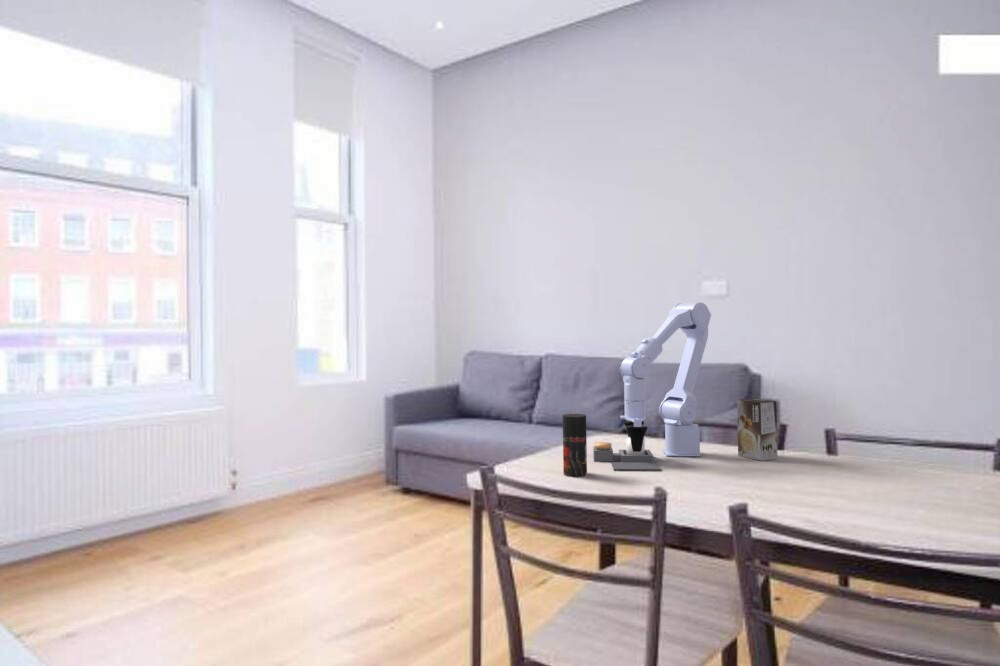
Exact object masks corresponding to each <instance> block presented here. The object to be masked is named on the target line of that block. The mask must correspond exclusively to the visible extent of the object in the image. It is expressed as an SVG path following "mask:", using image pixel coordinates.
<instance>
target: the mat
mask: <svg viewBox="0 0 1000 666" xmlns="http://www.w3.org/2000/svg"><path fill="white" fill-rule="evenodd" d="M611 466H612V468H613V472H617V471H619V472H662V468H661V467H660V465H659V463H658V462H653V463H645V462H621V461H620V462H619V461H617V462H616V461H613V462H611Z"/></svg>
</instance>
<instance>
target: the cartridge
mask: <svg viewBox="0 0 1000 666" xmlns="http://www.w3.org/2000/svg"><path fill="white" fill-rule="evenodd" d="M625 441H626V442H625V445H626V449H625V450H626V455H645V450H646V449H645V447H646V446H645V445H646V444H645V442H646V441H645V437H644V438H643V444H642V449H641V452H633V449H632V445H631V439H630V437H628V436H627V437H626V438H625Z"/></svg>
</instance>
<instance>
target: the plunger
mask: <svg viewBox="0 0 1000 666" xmlns="http://www.w3.org/2000/svg"><path fill="white" fill-rule="evenodd" d="M593 444H594V445H593V447H594V448H598V449H599V450H607V449H609V448H612V446H613V445H612V443H611V442H608V441H597V442H594V443H593ZM612 449H613V448H612Z"/></svg>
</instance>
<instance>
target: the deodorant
mask: <svg viewBox="0 0 1000 666" xmlns="http://www.w3.org/2000/svg"><path fill="white" fill-rule="evenodd" d="M562 451H563V452H562V453H563V454H562V459H563V461H562V462H563V463H562V464H563V465H562V466H563V468H562V469H563V476H566V477H571V478H578V477H579V478H582V477H586V476H587V475H588V462H587V461H588V460H587V455H588V453H587V451H588V449H587V415H586V414H584V413H583V414H582V413H566V414H562Z"/></svg>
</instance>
